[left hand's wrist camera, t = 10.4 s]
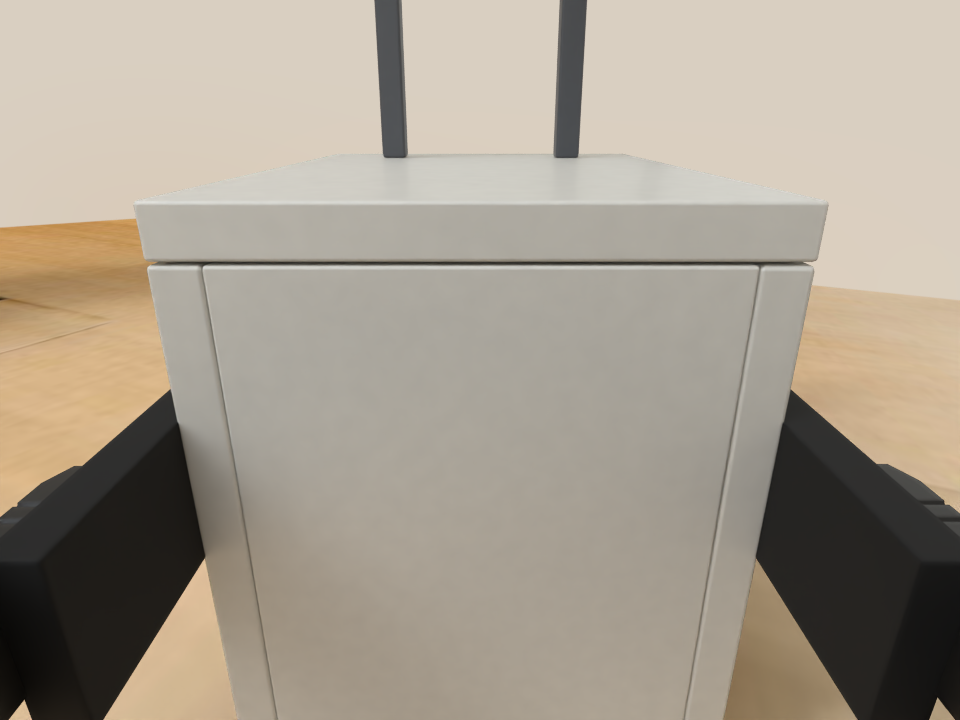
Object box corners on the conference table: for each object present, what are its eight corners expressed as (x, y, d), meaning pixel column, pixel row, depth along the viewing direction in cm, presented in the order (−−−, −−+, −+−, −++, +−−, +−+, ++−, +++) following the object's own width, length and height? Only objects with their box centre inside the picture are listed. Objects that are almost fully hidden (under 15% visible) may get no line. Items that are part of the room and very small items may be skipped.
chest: (358, 457, 25) (336, 183, 21) (602, 457, 25) (624, 182, 21) (245, 769, 13) (143, 265, 9) (715, 770, 13) (818, 265, 9)
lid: (339, 180, 22) (314, -121, 18) (622, 180, 22) (646, -121, 18) (142, 263, 9) (-41, -639, 6) (818, 262, 9) (1003, -638, 6)
